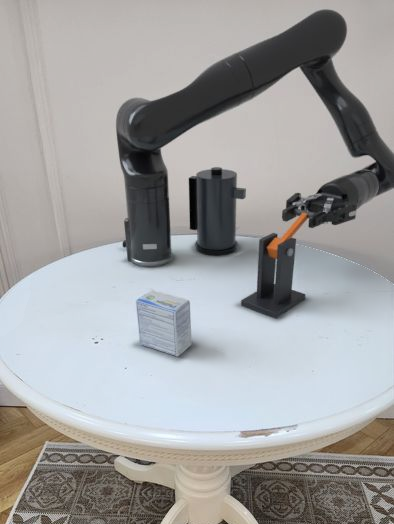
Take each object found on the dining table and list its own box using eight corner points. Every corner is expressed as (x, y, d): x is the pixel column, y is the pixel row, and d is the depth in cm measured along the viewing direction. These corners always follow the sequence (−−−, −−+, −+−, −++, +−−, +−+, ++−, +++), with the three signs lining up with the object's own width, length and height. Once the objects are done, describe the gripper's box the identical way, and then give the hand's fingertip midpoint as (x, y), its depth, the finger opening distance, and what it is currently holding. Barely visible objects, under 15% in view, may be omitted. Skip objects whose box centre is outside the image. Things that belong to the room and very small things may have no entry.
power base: (271, 288, 108) (275, 226, 101) (305, 299, 103) (311, 236, 96) (240, 305, 101) (242, 241, 95) (275, 318, 97) (280, 252, 90)
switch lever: (297, 214, 102) (295, 204, 101) (320, 220, 100) (318, 209, 98) (262, 255, 98) (260, 245, 96) (285, 261, 95) (283, 251, 94)
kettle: (183, 251, 125) (180, 171, 115) (200, 237, 133) (199, 161, 123) (235, 259, 120) (237, 176, 111) (249, 244, 128) (253, 165, 118)
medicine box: (192, 345, 89) (191, 299, 85) (177, 358, 86) (175, 311, 82) (154, 333, 93) (151, 288, 88) (138, 345, 90) (134, 299, 85)
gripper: (313, 172, 110) (266, 192, 100) (378, 183, 102) (334, 207, 92) (310, 207, 115) (264, 230, 104) (372, 221, 106) (329, 247, 96)
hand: (297, 219), depth 98 cm, fingers closed on switch lever, 5 cm apart
